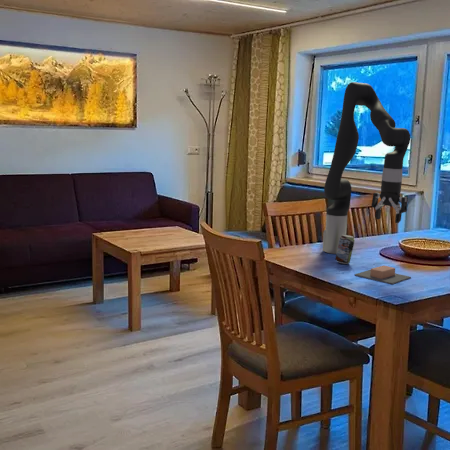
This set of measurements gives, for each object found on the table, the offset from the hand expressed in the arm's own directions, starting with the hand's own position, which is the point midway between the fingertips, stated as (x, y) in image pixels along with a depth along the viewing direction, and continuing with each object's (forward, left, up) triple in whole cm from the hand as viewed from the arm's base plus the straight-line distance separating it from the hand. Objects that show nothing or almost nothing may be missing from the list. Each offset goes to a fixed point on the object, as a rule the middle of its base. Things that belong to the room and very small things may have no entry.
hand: (387, 220), depth 226 cm
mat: (+5, -10, -20) cm, 23 cm away
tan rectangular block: (+5, -10, -20) cm, 22 cm away
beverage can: (-17, -3, -20) cm, 27 cm away
